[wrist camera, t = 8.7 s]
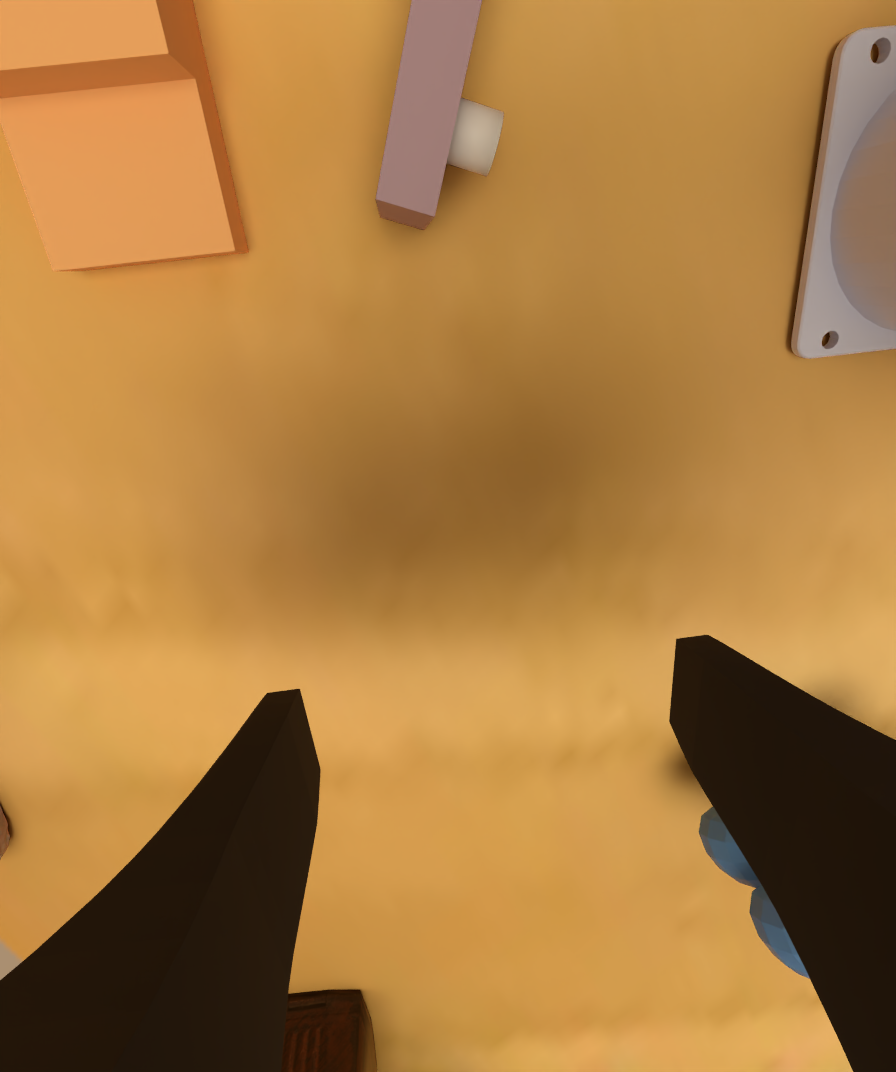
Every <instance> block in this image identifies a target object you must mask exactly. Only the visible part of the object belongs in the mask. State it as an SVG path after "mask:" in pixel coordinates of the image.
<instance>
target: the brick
mask: <svg viewBox="0 0 896 1072" xmlns="http://www.w3.org/2000/svg"><path fill="white" fill-rule="evenodd" d="M7 828H8V823H7V821H6V818H5V816H4V814H3V811H2V809H1V806H0V859H1V857H2V856H3V854H4V852H5V851H6V849H7V847H8V845H9V838H10V835H9V832H8V829H7Z"/></svg>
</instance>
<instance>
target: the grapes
mask: <svg viewBox="0 0 896 1072" xmlns="http://www.w3.org/2000/svg"><path fill="white" fill-rule="evenodd" d="M699 834H700V837H701V839H702V842H703V845H704V847H705V850H706V852H707V854H708V855H709V856H710V857H711V859H712V860H713V861H714V862H715V864H716V865H717V866H718V867H719V868H720V869H721V870H722V871H724V872H725V873H727V874H728V875H729V876H731V877H732V878H734V879H735V880H736V881H738V882H739V883H742V884H745V885H748V886H752V887H755V888H756V889H755V890H753V892H752V896H751V905H750V915H751V917H752V920H753V922H754V925H755V928H756V930H757V933H758V935H759V937H760V938H761V939H762V941H763V942H764V943H765V945H766V946H767V947H768V948H769V950H770V951H771V952H772V953H773V955H774V956H776V957H777V958H778V959H779V960H780V961H781V962H783V963H784V964H785V965H786V966H788V967H789V968H791V969H792V970H793V971H795V972H796V973H798V974H800V975H802V976H805V977H807V978H809V979H810V977H809V975H808V973H807V971H806V969H805V967H804V965H803V963H802V961H801V959H800V957H799V955H798V953H797V951H796V949H795V947H794V945H793V943H792V941H791V939H790V937H789V935H788V933H787V931H786V929H785V927H784V925H783V923H782V921H781V919H780V917H779V915H778V913H777V911H776V909H775V908H774V906H773V904H772V902H771V901H770V899H769V897H768V895H767V894H766V892H765V890H764V888H763V886H762V885H761V883H760V881H759V880H758V878H757V876H756V875H755V873H754V872H753V870H752V868H751V867H750V865H749V864H748V862H747V860H746V859H745V857H744V855H743V854H742V852H741V851H740V849H739V847H738V846H737V844H736V842H735V841H734V839H733V838H732V836H731V834H730V833H729V831H728V830H727V828H726V826H725V825H724V823H723V821H722V820H721V818H720V817H719V815H718V813H717V812H716V810H715V808H714V807H712V808H710V809H709V810H708V811H707V812H705V813H704V814H703V815H702V816H701V822H700V828H699Z"/></svg>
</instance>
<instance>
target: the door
mask: <svg viewBox="0 0 896 1072" xmlns="http://www.w3.org/2000/svg"><path fill="white" fill-rule="evenodd" d="M481 3H482V0H412V2H411V7H410V13H409V18H408V24H407V29H406V35H405V40H404V46H403V51H402V57H401V62H400V68H399V73H398V79H397V84H396V90H395V95H394V101H393V106H392V112H391V117H390V123H389V128H388V134H387V139H386V145H385V150H384V156H383V161H382V167H381V172H380V178H379V183H378V189H377V194H376V203H377V207H378V211H379V215H380V217H381V218H385V219H388V220H391V221H395V222H398V223H401V224H405V225H408V226H412V227H415V228H418V229H422V230H424V229H425V228H426V227H427V226H428V224H429V223H430V222H431V221H432V219H433V218H434V217H435V213H436V208H437V204H438V199H439V195H440V190H441V185H442V181H443V176H444V172H445V167H446V164H449V165H453V166H456V167H459V168H462V169H465V170H468V171H471V172H474V173H478V174H481V175H484V176H487V175H488V173H489V171H490V168H491V166H492V163H493V159H494V156H495V153H496V149H497V145H498V142H499V138H500V133H501V129H502V124H503V117H504V112H502V111H499V110H496V109H493V108H490V107H487V106H485V105H482V104H479V103H476V102H473V101H470V100H467V99H464V98H461V94H462V90H463V85H464V80H465V76H466V71H467V67H468V62H469V58H470V53H471V49H472V44H473V39H474V35H475V30H476V26H477V21H478V17H479V12H480V7H481Z"/></svg>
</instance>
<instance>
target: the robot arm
mask: <svg viewBox="0 0 896 1072" xmlns="http://www.w3.org/2000/svg"><path fill="white" fill-rule="evenodd" d="M873 44H876V45H877V47H878V48H879V56H878V59H877V62H876V63H873V61H872V60H871V57H870V51H871V48H872V46H873ZM827 332H829V333H830V339H829V341H828V343H827V344H826V345H825V346H822V339H823V336H824V335H825V334H826V333H827ZM791 349H792V351H793V353H794V354H795V355H797V356H798V357H802V358H810V359H811V358H820V357H828V356H837V355H846V354H855V353H863V352H872V351H881V350H889V349H896V25H892V26H882V27H871V28H863V29H860V30H857V31H855V32H853V33H851V34H849V35H847V36H846V37H845V38H844V39H843V40H842V41H841V42H840V43H839V45H838V47H837V48H836V50H835V53H834V57H833V61H832V68H831V75H830V82H829V88H828V95H827V102H826V109H825V116H824V122H823V129H822V136H821V143H820V150H819V156H818V163H817V170H816V177H815V184H814V190H813V197H812V204H811V211H810V218H809V224H808V231H807V238H806V245H805V252H804V258H803V265H802V272H801V279H800V285H799V292H798V299H797V306H796V313H795V319H794V326H793V333H792V340H791ZM669 722H670V724H671V726H672V729H673V731H674V733H675V735H676V738H677V740H678V742H679V745H680V747H681V749H682V751H683V753H684V755H685V758H686V760H687V762H688V764H689V766H690V768H691V770H692V772H693V774H694V775H695V777H696V779H697V780H698V782H699V784H700V785H701V787H702V789H703V790H704V792H705V794H706V795H707V797H708V799H709V800H710V802H711V804H712V805H713V807H714V808H715V810H716V812H717V813H718V815H719V817H720V818H721V820H722V821H723V823H724V825H725V826H726V828H727V830H728V831H729V833H730V834H731V836H732V838H733V839H734V841H735V842H736V844H737V846H738V847H739V849H740V851H741V852H742V854H743V855H744V857H745V859H746V860H747V862H748V864H749V865H750V867H751V868H752V870H753V872H754V873H755V875H756V876H757V878H758V880H759V881H760V883H761V885H762V886H763V888H764V890H765V892H766V894H767V895H768V897H769V899H770V901H771V902H772V904H773V906H774V908H775V909H776V911H777V913H778V915H779V917H780V919H781V921H782V923H783V925H784V927H785V929H786V931H787V933H788V935H789V937H790V939H791V941H792V943H793V945H794V947H795V949H796V951H797V953H798V955H799V957H800V959H801V961H802V963H803V965H804V967H805V969H806V971H807V973H808V975H809V977H810V980H811V982H812V984H813V986H814V988H815V990H816V992H817V994H818V996H819V999H820V1001H821V1003H822V1005H823V1007H824V1009H825V1011H826V1013H827V1015H828V1018H829V1020H830V1022H831V1024H832V1026H833V1028H834V1030H835V1032H836V1034H837V1037H838V1039H839V1041H840V1043H841V1045H842V1047H843V1050H844V1052H845V1054H846V1056H847V1059H848V1061H849V1063H850V1065H851V1068H852V1070H853V1072H896V740H894V739H892V738H890V737H888V736H886V735H884V734H882V733H880V732H878V731H876V730H874V729H873V728H871V727H869V726H867V725H865V724H863V723H861V722H859V721H857V720H855V719H853V718H851V717H850V716H848V715H846V714H844V713H842V712H840V711H838V710H836V709H835V708H833V707H831V706H829V705H827V704H826V703H824V702H822V701H820V700H818V699H817V698H815V697H813V696H811V695H810V694H808V693H806V692H804V691H803V690H801V689H799V688H798V687H796V686H794V685H792V684H791V683H789V682H787V681H786V680H784V679H782V678H780V677H779V676H777V675H775V674H774V673H772V672H770V671H769V670H767V669H765V668H764V667H762V666H760V665H759V664H757V663H755V662H754V661H752V660H750V659H749V658H747V657H745V656H744V655H742V654H740V653H739V652H737V651H735V650H734V649H732V648H730V647H729V646H727V645H725V644H723V643H722V642H720V641H718V640H716V639H714V638H713V637H711V636H709V635H702V636H695V637H687V638H679V639H676V649H675V661H674V672H673V684H672V696H671V708H670V720H669ZM319 786H320V766H319V762H318V758H317V754H316V750H315V746H314V742H313V738H312V735H311V731H310V727H309V723H308V719H307V715H306V711H305V707H304V703H303V700H302V696H301V692H300V689H294V690H287V691H279V692H271V693H267V694H266V695H265V696H264V698H263V699H262V700H261V701H260V703H259V704H258V705H257V707H256V708H255V709H254V711H253V712H252V713H251V715H250V716H249V718H248V719H247V720H246V722H245V723H244V724H243V726H242V727H241V728H240V730H239V731H238V733H237V734H236V735H235V737H234V738H233V739H232V741H231V742H230V743H229V745H228V746H227V747H226V749H225V750H224V751H223V753H222V754H221V755H220V756H219V758H218V759H217V760H216V762H215V763H214V764H213V765H212V767H211V768H210V769H209V771H208V772H207V773H206V774H205V776H204V777H203V778H202V780H201V781H200V782H199V783H198V785H197V786H196V787H195V788H194V790H193V791H192V792H191V793H190V794H189V796H188V797H187V798H186V799H185V800H184V802H183V803H182V804H181V805H180V806H179V807H178V809H177V810H176V811H175V812H174V813H173V814H172V816H171V817H170V818H169V819H168V820H167V821H166V823H165V824H164V825H163V826H162V827H161V829H160V830H159V831H158V832H157V833H156V834H155V835H154V836H153V837H152V839H151V840H150V841H149V842H148V843H147V844H146V845H145V846H144V847H143V848H142V850H141V851H140V852H139V853H138V854H137V855H136V856H135V857H134V858H133V859H132V860H131V861H130V862H129V863H128V864H127V865H126V866H125V867H124V868H123V869H122V870H121V871H120V872H119V873H118V874H117V875H116V876H115V877H114V878H113V879H112V880H111V881H110V882H109V883H108V884H107V885H106V886H105V887H104V888H103V889H102V890H101V891H100V892H99V893H98V894H97V895H96V896H95V897H94V898H93V899H92V900H91V901H89V902H88V903H87V904H86V905H85V906H84V907H83V908H82V909H81V910H80V911H78V912H77V913H76V914H75V915H74V916H73V917H72V918H71V919H70V920H69V921H68V922H66V923H65V924H64V925H63V926H62V927H61V928H60V929H59V930H58V931H57V932H55V933H54V934H53V935H52V936H51V937H50V938H49V939H48V940H47V941H46V942H44V943H43V944H42V945H41V946H40V947H39V948H38V949H37V950H36V951H34V952H33V953H32V954H31V955H30V956H29V957H28V958H26V959H25V960H24V961H23V962H22V963H20V964H19V965H18V966H17V967H16V968H15V969H13V970H12V971H11V972H10V973H9V974H7V975H6V976H5V977H4V978H3V979H2V980H0V1072H281V1066H282V1053H283V1043H284V1032H285V1022H286V1011H287V1000H288V990H289V981H290V974H291V967H292V960H293V953H294V948H295V942H296V937H297V932H298V926H299V921H300V915H301V910H302V904H303V899H304V893H305V888H306V883H307V877H308V872H309V866H310V861H311V855H312V849H313V844H314V838H315V832H316V826H317V817H318V803H319Z"/></svg>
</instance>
